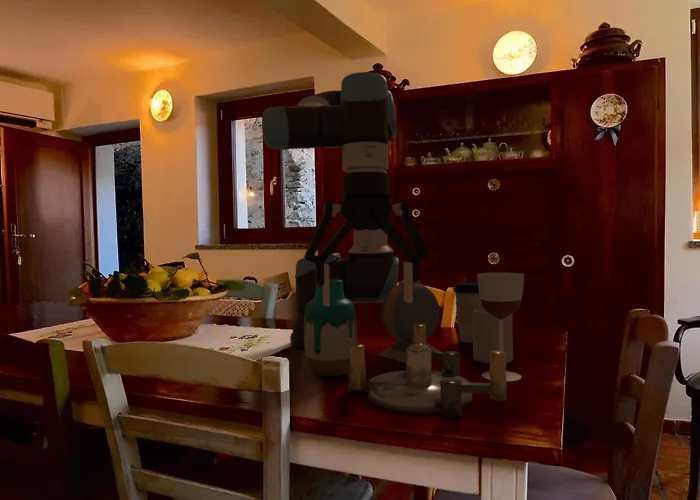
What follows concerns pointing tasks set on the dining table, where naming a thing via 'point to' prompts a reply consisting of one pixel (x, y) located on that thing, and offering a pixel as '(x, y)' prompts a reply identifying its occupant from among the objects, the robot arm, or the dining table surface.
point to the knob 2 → (474, 387)
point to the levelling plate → (408, 395)
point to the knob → (357, 369)
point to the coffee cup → (466, 308)
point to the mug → (490, 335)
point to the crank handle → (448, 358)
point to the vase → (329, 331)
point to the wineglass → (501, 302)
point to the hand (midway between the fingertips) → (367, 303)
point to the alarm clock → (408, 317)
